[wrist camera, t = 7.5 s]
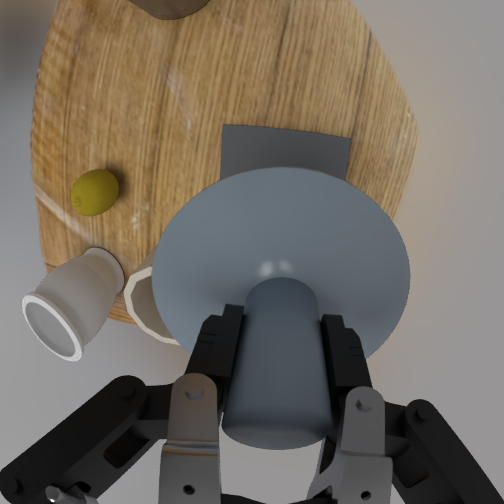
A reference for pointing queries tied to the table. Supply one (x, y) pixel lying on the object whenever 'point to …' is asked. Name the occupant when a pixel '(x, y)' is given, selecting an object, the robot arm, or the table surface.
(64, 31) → the table surface
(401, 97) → the table surface
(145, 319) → the crock
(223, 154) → the mat
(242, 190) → the lid
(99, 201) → the lemon
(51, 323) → the jar
